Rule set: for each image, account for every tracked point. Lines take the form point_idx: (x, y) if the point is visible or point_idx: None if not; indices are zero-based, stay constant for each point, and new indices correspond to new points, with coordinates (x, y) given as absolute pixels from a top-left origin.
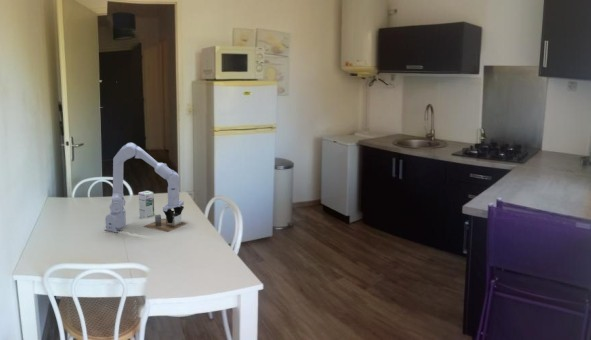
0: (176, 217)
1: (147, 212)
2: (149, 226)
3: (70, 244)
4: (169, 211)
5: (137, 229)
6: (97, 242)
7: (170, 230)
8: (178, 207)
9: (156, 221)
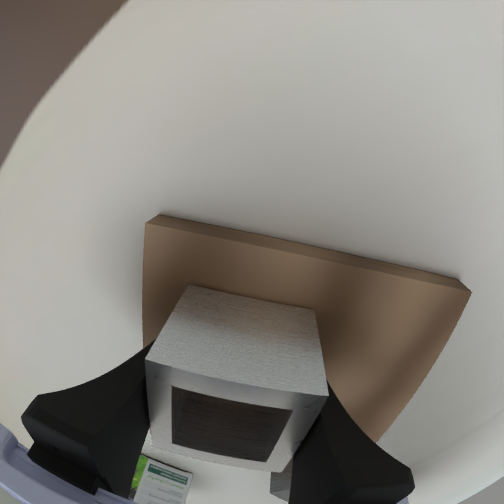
0: (281, 373)
1: (173, 501)
2: None
3: (487, 470)
4: (398, 500)
5: None
6: (493, 449)
7: (437, 291)
8: (107, 473)
9: None
